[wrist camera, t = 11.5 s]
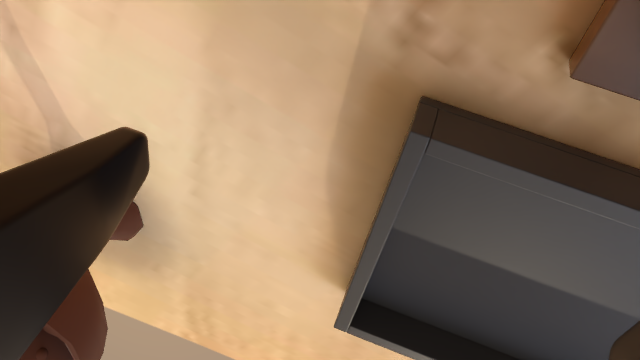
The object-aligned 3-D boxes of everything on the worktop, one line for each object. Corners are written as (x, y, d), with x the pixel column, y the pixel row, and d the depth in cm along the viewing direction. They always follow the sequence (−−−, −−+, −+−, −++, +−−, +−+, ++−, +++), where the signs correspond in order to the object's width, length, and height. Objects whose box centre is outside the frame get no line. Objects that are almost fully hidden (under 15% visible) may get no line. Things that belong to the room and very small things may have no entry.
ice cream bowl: (-6, 141, 33) (-274, 351, 22) (131, 133, 28) (-123, 393, 17) (83, 258, 39) (-92, 466, 28) (208, 267, 34) (55, 519, 24)
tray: (882, 251, 19) (916, 307, 17) (640, 406, 29) (646, 451, 28) (421, 95, 21) (409, 130, 19) (345, 292, 31) (333, 327, 29)
